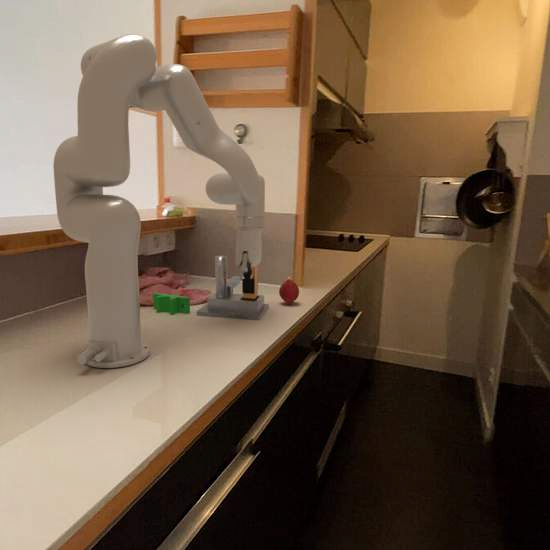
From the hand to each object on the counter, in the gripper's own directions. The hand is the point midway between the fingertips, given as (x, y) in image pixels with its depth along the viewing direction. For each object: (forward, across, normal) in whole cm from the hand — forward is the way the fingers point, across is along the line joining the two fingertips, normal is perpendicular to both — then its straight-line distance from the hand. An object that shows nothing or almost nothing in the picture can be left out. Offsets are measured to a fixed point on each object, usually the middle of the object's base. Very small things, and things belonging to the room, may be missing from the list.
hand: (250, 290), depth 116 cm
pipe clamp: (+6, +5, -22) cm, 23 cm away
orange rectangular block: (+2, 0, 0) cm, 2 cm away
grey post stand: (+6, -5, -5) cm, 9 cm away
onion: (+6, -11, +9) cm, 15 cm away
